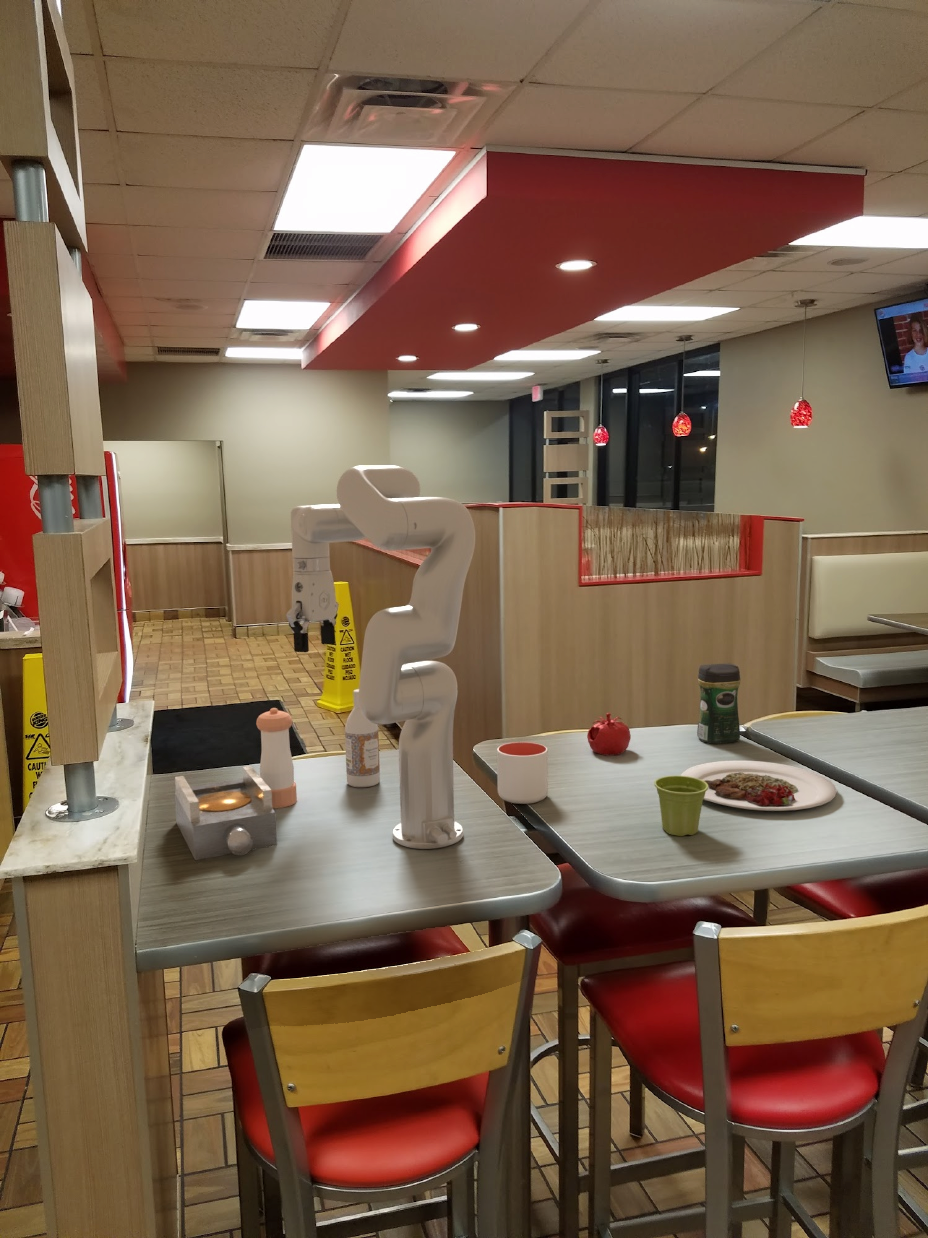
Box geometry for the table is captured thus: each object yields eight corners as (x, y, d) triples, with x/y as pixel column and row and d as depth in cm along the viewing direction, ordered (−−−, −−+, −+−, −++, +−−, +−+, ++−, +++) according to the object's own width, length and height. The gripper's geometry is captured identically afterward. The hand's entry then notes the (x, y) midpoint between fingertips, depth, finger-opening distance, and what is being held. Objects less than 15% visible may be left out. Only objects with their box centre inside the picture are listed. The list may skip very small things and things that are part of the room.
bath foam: (360, 790, 191) (357, 695, 188) (340, 783, 196) (336, 690, 193) (386, 782, 196) (383, 690, 193) (366, 775, 201) (363, 685, 198)
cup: (517, 786, 192) (516, 739, 191) (557, 795, 186) (557, 747, 184) (487, 799, 184) (486, 750, 183) (528, 809, 178) (528, 759, 177)
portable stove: (282, 853, 159) (280, 799, 158) (199, 869, 153) (195, 814, 152) (250, 810, 181) (248, 763, 179) (176, 822, 175) (173, 774, 173)
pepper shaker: (270, 811, 180) (265, 714, 177) (253, 801, 185) (248, 708, 183) (303, 802, 184) (299, 708, 182) (285, 793, 190) (281, 702, 187)
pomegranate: (633, 747, 218) (633, 708, 217) (627, 759, 209) (627, 719, 208) (591, 744, 221) (591, 706, 220) (583, 756, 212) (583, 716, 211)
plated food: (744, 760, 207) (744, 746, 207) (867, 796, 183) (868, 779, 182) (648, 787, 190) (648, 771, 190) (770, 830, 166) (770, 812, 165)
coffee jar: (728, 734, 227) (730, 659, 225) (744, 743, 220) (746, 666, 217) (691, 737, 226) (693, 662, 223) (706, 746, 218) (707, 668, 215)
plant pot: (713, 826, 168) (714, 780, 166) (698, 844, 160) (699, 795, 158) (663, 817, 172) (664, 772, 171) (646, 834, 164) (646, 787, 163)
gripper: (302, 570, 181) (306, 656, 184) (349, 562, 197) (352, 642, 199) (270, 569, 185) (275, 654, 187) (320, 562, 200) (323, 640, 203)
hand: (315, 647), depth 193 cm, fingers open, 9 cm apart
